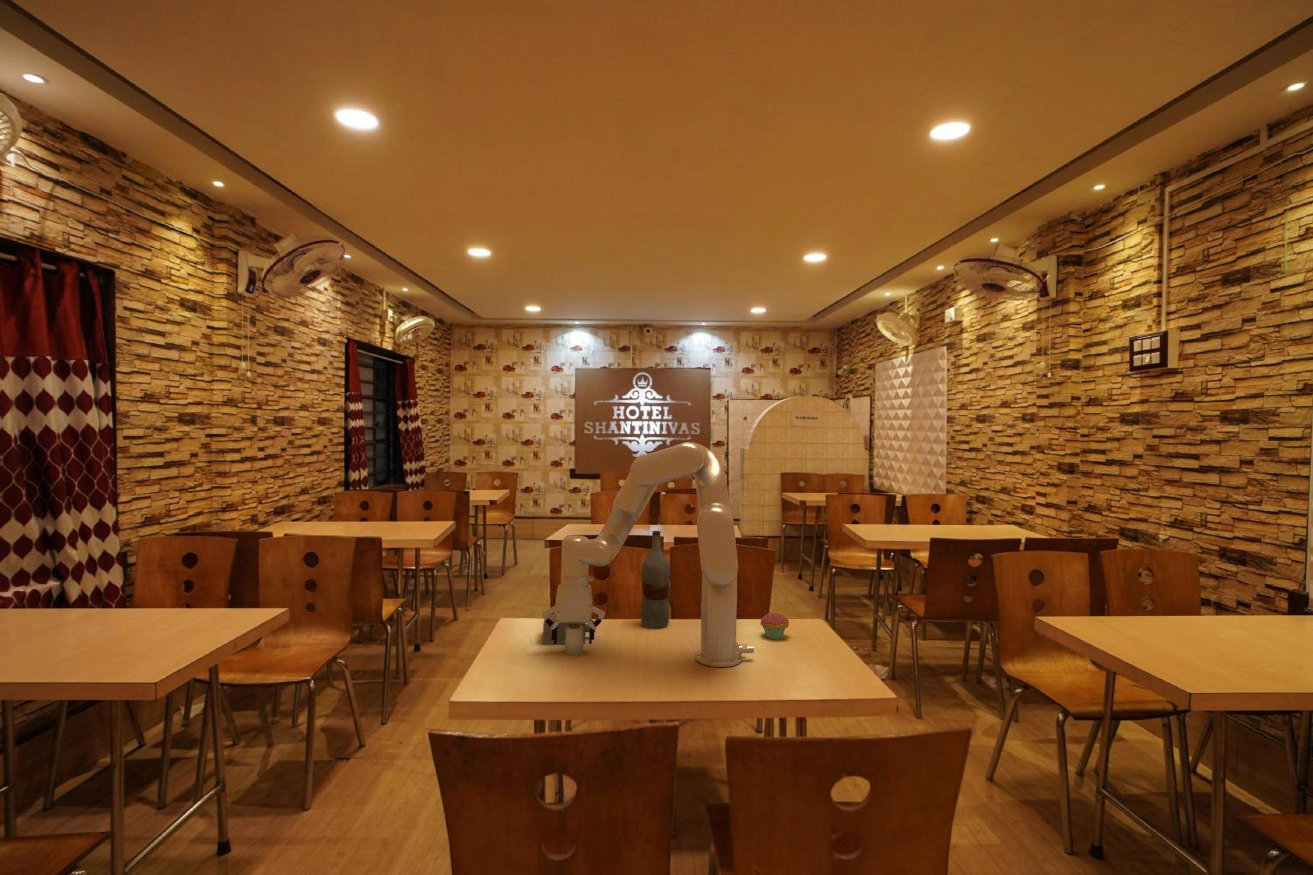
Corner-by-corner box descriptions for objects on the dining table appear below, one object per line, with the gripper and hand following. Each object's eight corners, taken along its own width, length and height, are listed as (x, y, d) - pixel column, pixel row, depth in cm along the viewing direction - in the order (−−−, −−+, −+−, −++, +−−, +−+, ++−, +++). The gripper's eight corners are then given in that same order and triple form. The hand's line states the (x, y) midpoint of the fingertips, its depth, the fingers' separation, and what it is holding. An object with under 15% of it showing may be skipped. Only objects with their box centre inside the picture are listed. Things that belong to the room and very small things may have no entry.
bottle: (637, 628, 197) (638, 532, 197) (644, 619, 206) (645, 528, 206) (666, 630, 195) (667, 534, 195) (672, 622, 204) (673, 529, 204)
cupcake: (755, 633, 193) (756, 594, 193) (780, 631, 196) (780, 593, 196) (768, 642, 185) (769, 601, 185) (794, 640, 187) (794, 600, 187)
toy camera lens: (583, 649, 177) (583, 621, 177) (582, 655, 172) (583, 626, 172) (565, 649, 176) (565, 621, 176) (564, 655, 171) (564, 627, 171)
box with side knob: (595, 630, 194) (595, 601, 194) (595, 643, 182) (596, 612, 182) (546, 631, 192) (546, 602, 192) (543, 644, 180) (543, 613, 180)
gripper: (605, 577, 179) (603, 638, 179) (544, 577, 177) (542, 638, 177) (606, 584, 171) (604, 646, 171) (542, 583, 170) (540, 647, 170)
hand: (572, 642), depth 174 cm, fingers open, 9 cm apart
